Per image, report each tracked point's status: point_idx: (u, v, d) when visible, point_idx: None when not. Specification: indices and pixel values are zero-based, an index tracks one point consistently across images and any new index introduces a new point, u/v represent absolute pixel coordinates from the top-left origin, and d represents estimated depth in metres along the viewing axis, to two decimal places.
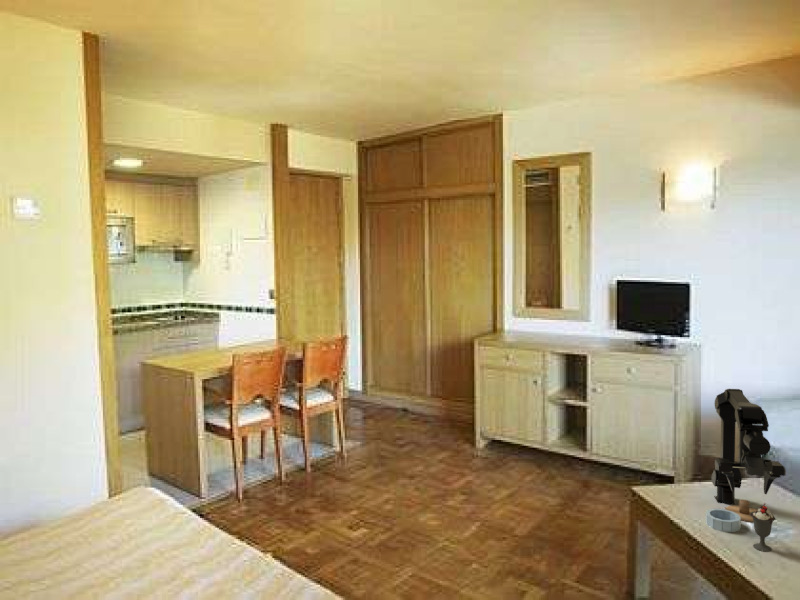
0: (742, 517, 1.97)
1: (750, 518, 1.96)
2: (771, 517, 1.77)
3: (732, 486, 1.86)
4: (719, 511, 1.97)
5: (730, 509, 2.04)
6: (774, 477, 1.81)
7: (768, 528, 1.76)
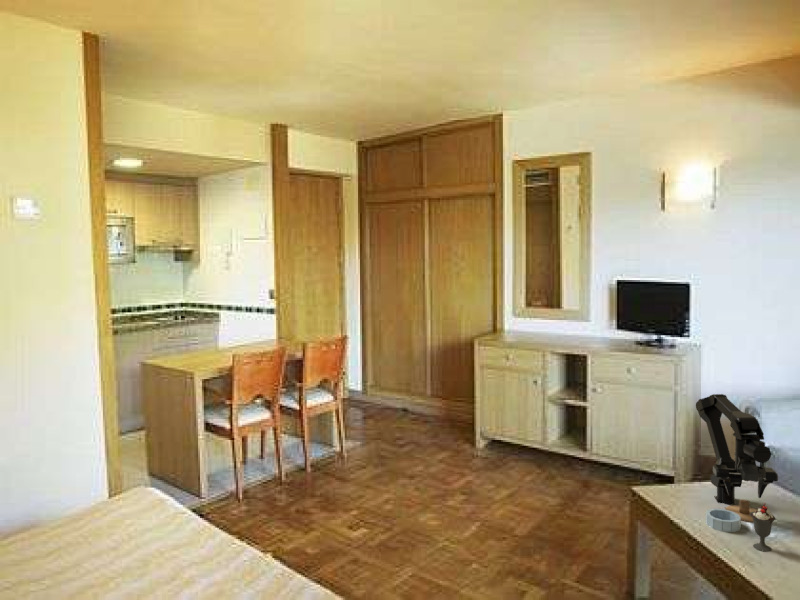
0: (742, 517, 1.97)
1: (750, 518, 1.96)
2: (771, 517, 1.77)
3: (729, 490, 2.01)
4: (719, 511, 1.97)
5: (730, 509, 2.04)
6: (767, 482, 1.96)
7: (768, 528, 1.76)
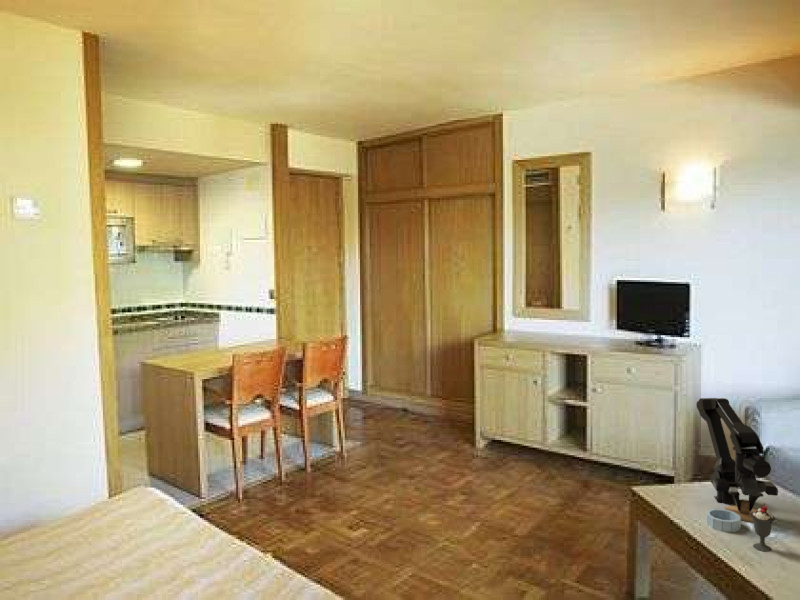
0: (742, 517, 1.97)
1: (750, 518, 1.96)
2: (771, 517, 1.77)
3: (738, 505, 2.00)
4: (719, 511, 1.97)
5: (730, 509, 2.04)
6: (757, 496, 1.97)
7: (768, 528, 1.76)
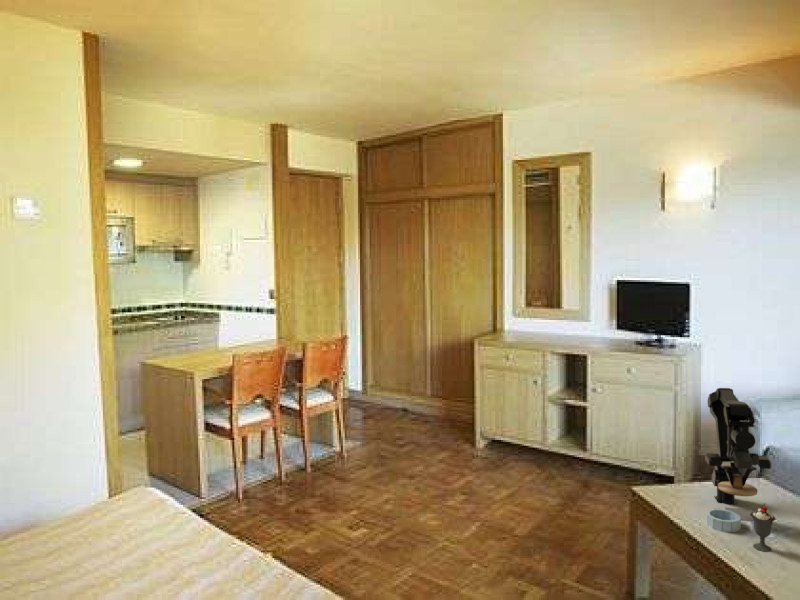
0: (735, 491, 1.93)
1: (743, 492, 1.92)
2: (771, 517, 1.77)
3: (731, 480, 1.96)
4: (719, 511, 1.97)
5: (723, 484, 1.99)
6: (751, 470, 1.93)
7: (768, 528, 1.76)
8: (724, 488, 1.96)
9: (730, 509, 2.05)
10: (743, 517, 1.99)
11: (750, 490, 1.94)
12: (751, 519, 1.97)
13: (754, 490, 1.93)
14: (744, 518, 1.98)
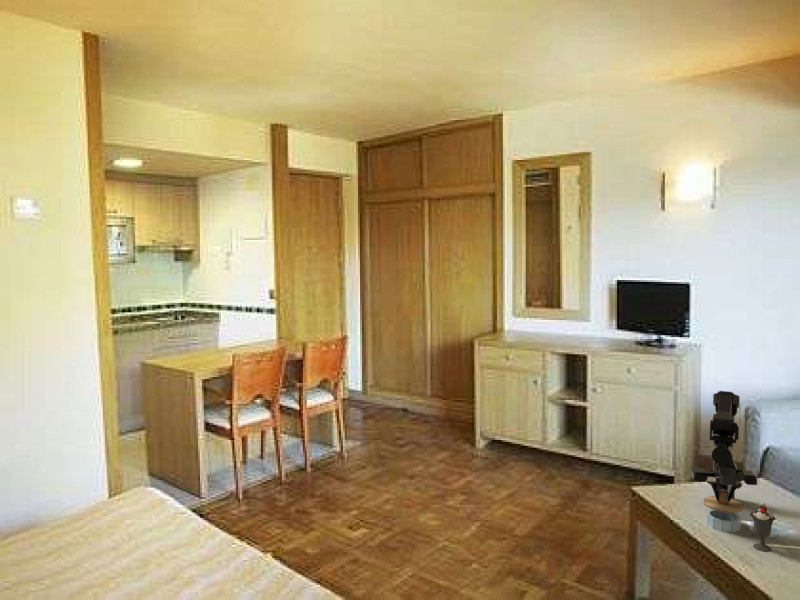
0: (720, 507, 1.90)
1: (728, 508, 1.89)
2: (771, 517, 1.77)
3: (716, 495, 1.93)
4: (719, 511, 1.97)
5: (708, 499, 1.96)
6: (736, 486, 1.90)
7: (768, 528, 1.76)
8: (709, 503, 1.93)
9: None
10: (743, 517, 1.99)
11: (736, 506, 1.90)
12: (751, 519, 1.97)
13: (740, 507, 1.90)
14: (744, 518, 1.98)
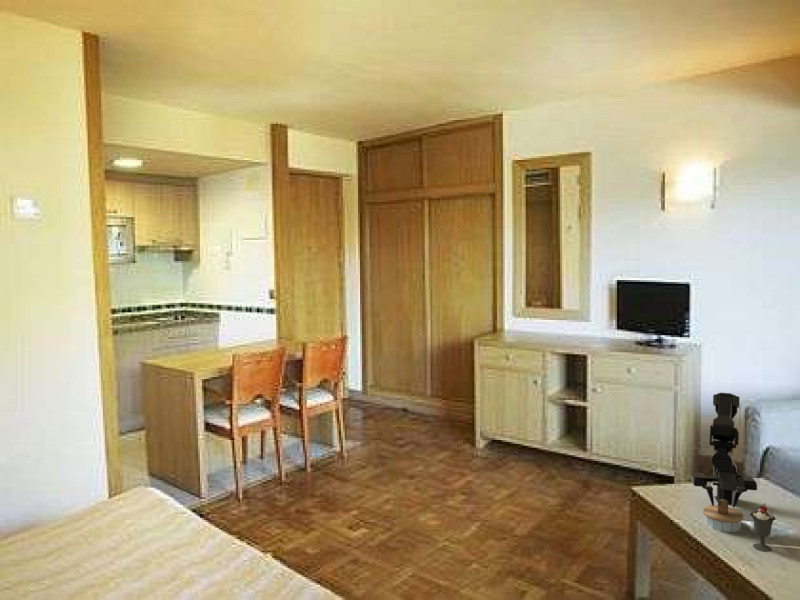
0: (720, 517, 1.90)
1: (728, 518, 1.89)
2: (771, 517, 1.77)
3: (712, 500, 1.93)
4: None
5: (708, 509, 1.96)
6: (741, 491, 1.89)
7: (768, 528, 1.76)
8: (709, 513, 1.93)
9: None
10: (743, 517, 1.99)
11: (735, 516, 1.91)
12: (751, 519, 1.97)
13: (739, 517, 1.90)
14: (744, 518, 1.98)
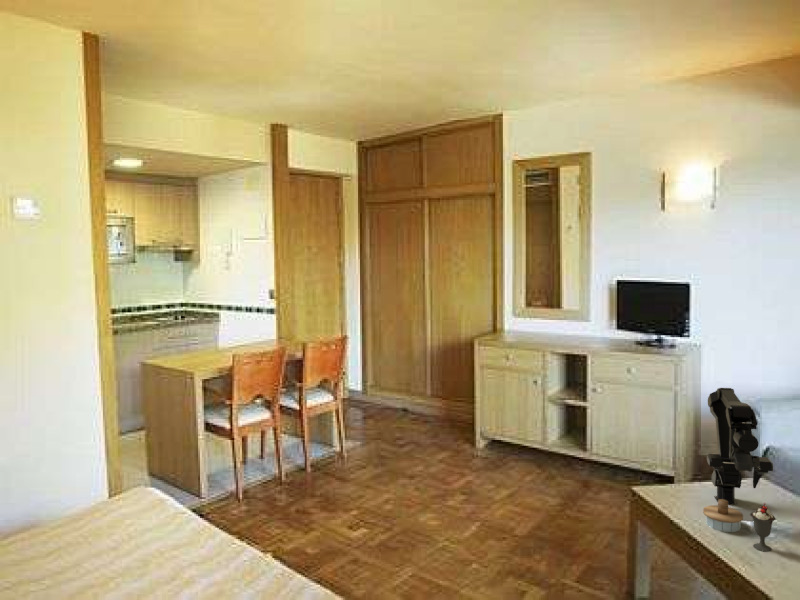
0: (720, 517, 1.90)
1: (728, 518, 1.89)
2: (771, 517, 1.77)
3: (722, 480, 1.97)
4: None
5: (708, 509, 1.96)
6: (762, 472, 1.91)
7: (768, 528, 1.76)
8: (709, 513, 1.93)
9: None
10: (743, 517, 1.99)
11: (735, 516, 1.91)
12: (751, 519, 1.97)
13: (739, 517, 1.90)
14: (744, 518, 1.98)
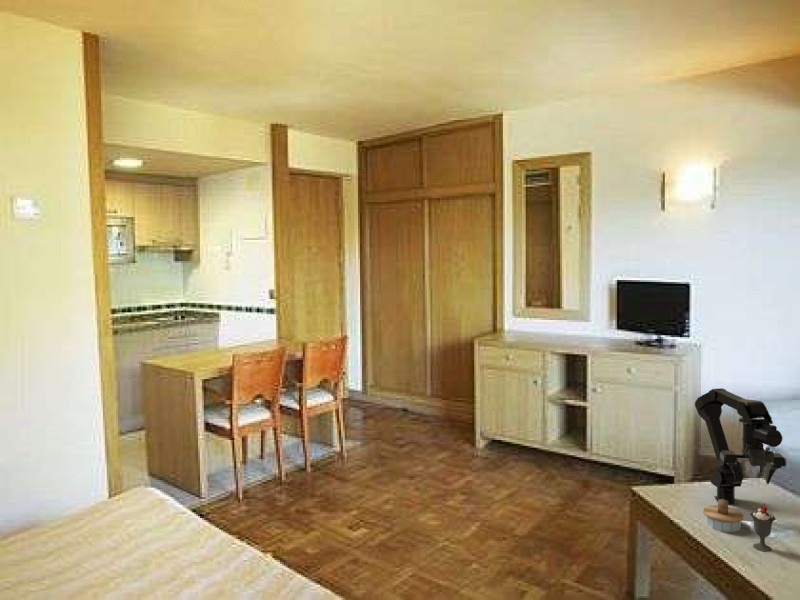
0: (720, 517, 1.90)
1: (728, 518, 1.89)
2: (771, 517, 1.77)
3: (736, 476, 1.99)
4: None
5: (708, 509, 1.96)
6: (775, 468, 1.94)
7: (768, 528, 1.76)
8: (709, 513, 1.93)
9: None
10: (743, 517, 1.99)
11: (735, 516, 1.91)
12: (751, 519, 1.97)
13: (739, 517, 1.90)
14: (744, 518, 1.98)
